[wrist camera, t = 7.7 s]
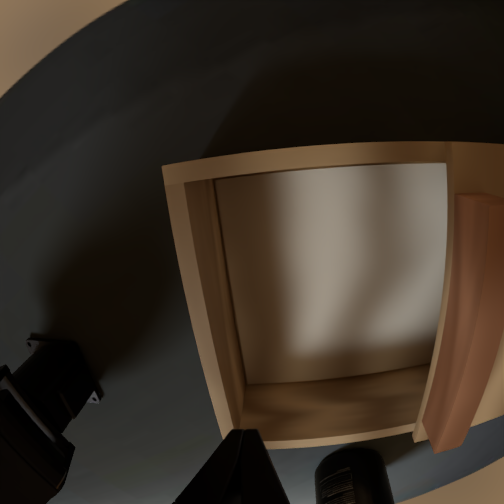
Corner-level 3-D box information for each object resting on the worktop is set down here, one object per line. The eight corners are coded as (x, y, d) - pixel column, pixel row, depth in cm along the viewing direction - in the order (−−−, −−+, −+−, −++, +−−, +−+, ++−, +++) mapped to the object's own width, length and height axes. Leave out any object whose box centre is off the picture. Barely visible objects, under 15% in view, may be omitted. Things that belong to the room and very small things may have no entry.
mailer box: (238, 387, 22) (226, 449, 17) (198, 160, 18) (161, 166, 12) (465, 358, 20) (498, 405, 15) (484, 144, 16) (544, 148, 10)
